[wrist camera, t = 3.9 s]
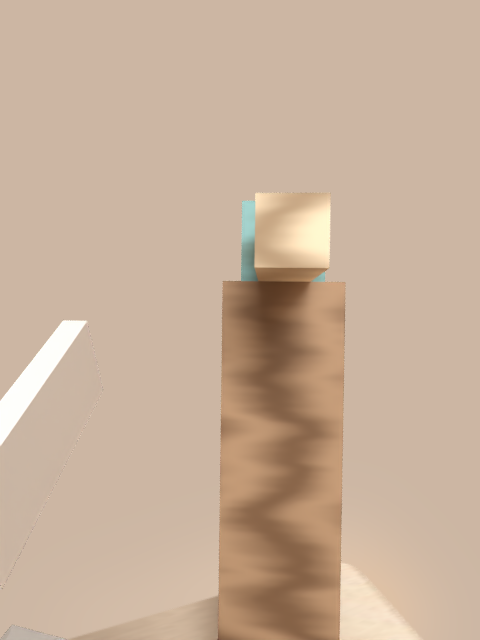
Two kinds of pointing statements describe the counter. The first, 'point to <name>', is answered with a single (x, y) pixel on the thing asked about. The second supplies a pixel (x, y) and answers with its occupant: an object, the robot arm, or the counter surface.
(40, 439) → the robot arm
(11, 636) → the die
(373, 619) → the counter surface
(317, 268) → the mallet
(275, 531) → the stand
